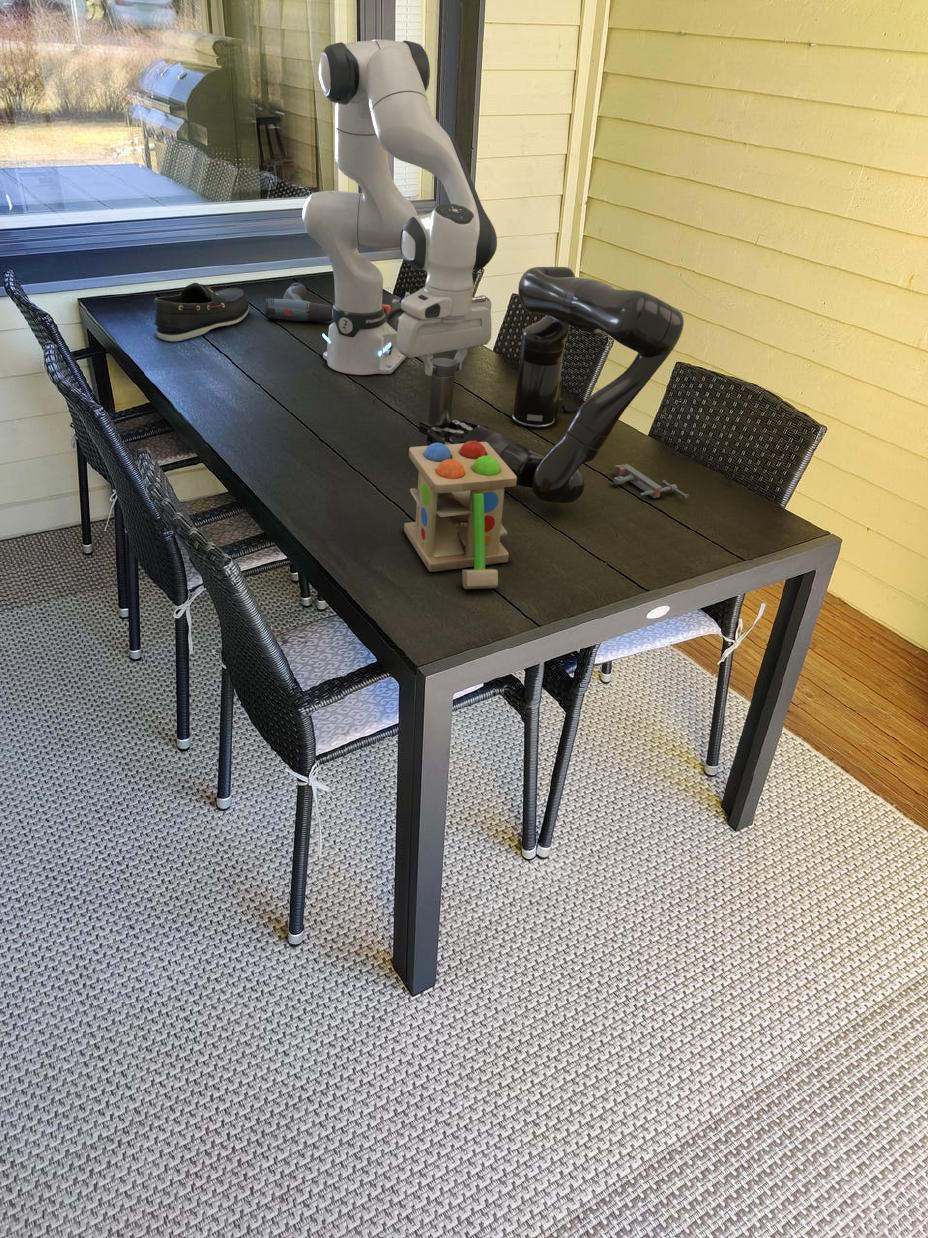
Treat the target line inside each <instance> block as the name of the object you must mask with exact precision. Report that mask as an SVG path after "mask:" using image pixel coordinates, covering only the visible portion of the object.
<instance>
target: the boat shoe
mask: <svg viewBox="0 0 928 1238" xmlns="http://www.w3.org/2000/svg"><path fill="white" fill-rule="evenodd" d="M154 305H155V315H154V317H155V321H154V322H153V323H154V325H155V326H156V337H157V338H158V339H160V340H162V341H166V342H180V341H181V342H182V341H186V340H189V339H192V338H196V337H199V336H201V335H204V334H206V333H208V332H209V331H210V330H212V329H215V328H219V327H224V326H226V327H227V326H230V325H234V324H238V323H239V322H241V321H243V320H244V319H245V318H246V317H247V315H248V314H249V311H250V304H249V300H248V297H247V295H246V293H245V291H244V290H243V289H241V288H238V287H230V288H224V289H220V290H217V291H215V290H214V289H213V288H212V287H211V286H209V285H207V284H203V283H198V282H191V283H190V284H188V285H186V286H185V287H184V288H183V289H182V290H181V291H180V292H179V294H177V295H171V296H159V297H155V298H154Z"/></svg>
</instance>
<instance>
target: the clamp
mask: <svg viewBox="0 0 928 1238" xmlns="http://www.w3.org/2000/svg"><path fill="white" fill-rule="evenodd" d="M613 476H615V477H613V481H612V482H613V484H615V485H617V486H619V485H624V484H625V483H626V482H630V483H631V484H633V485H634V486H636V487H637V488H638V489H640V491H642V492H640V493H639V496H640V497H642V496H650V497H651V498H653V499H656V498H660V497H661V493H665V492H671V493H672V492H675V493H677V494H679V495H680V496H681V497H683V498H684V500H688V499H689V494H688V493H687V494H686V493H684V492H683V491H681V490H679V489H678V486H677V484H675V483H673V484H670V483H669V482H668V481H667V480H666V479H662V481H661V485H665V486H666V487H663V486H661V485H660V484H658V483H656V482H655V481H654V480H652V479H651V478H649V477H648V476H646V475H645V474H643V473H642V472H640V471H639V470H638V469H636V468H635V467H634V466H631V465H630V464H629V463H624V464H615V467H614V472H613Z"/></svg>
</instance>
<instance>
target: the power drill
mask: <svg viewBox="0 0 928 1238" xmlns="http://www.w3.org/2000/svg"><path fill="white" fill-rule="evenodd" d="M307 295H308V290H307V287H306V285H304V284H303V283H301V282H293V283H292V284H291V285H290V286H289V287H288V288H287V289H286V291H285V292H284V294H283V297H282V298H266V299H265V302H264V313H265V314H264V316H265V318H267V319H274V320H275V319H276V320H283V321H294V322H295V321H297V322H332V321H333V314H332V311H333V305H331V304H324V303H317V302H313V301H307V300H305V299H306V297H307Z"/></svg>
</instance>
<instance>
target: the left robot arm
mask: <svg viewBox="0 0 928 1238" xmlns="http://www.w3.org/2000/svg"><path fill="white" fill-rule="evenodd" d="M318 79H319V83H320V86H321V89H322V93H323V94H324V96H325V97H326V98H327V99H328V100H329V102H332V103H335V108H334V160H335V163H336V166H337V168H338V170H340V172H341V173H342V174H343V175H344V176H346V177H347V178H349V179H350V180H351V181H353V182H355V183H356V184H357V185H358V186H359V187H360V188H361V190H362V192H353V191H341V190H323V191H317V192H312V193H311V194H309V196H308V197H307V198H306V200H305V202H304V204H303V207H302V211H301V220H302V224H303V227H304V229H305V232H306V233H307V234H308V236H309V237H310V238H311V239H312V240H314V241H315V242H316V243H317V244H318V245H319V246H320V247H321V249H322V250H323V252H324V253H325V255H326V256H327V257H328V260H329V263H330V266H331V268H332V274H333V282H334V283H333V284H334V285H333V286H334V303H333V305H332V307H333V311H332V314H333V320H332V323H331V324H330V325H329V326H328V336H326V335H325V333H322V334H321V335H322V337H323V339H324V340H325V341H326V342H327V346H326V347H327V348H326V351H324V352H323V353H322V358H323V359H324V360H326V362H327V363H326V365H327V366H328V367H329V368H330V369H332V370H334V371H336V372H339V373H341V374H342V373H343V374H347V375H356V376H369V375H379V374H380V375H389V374H392V373H393V372H394V371H395V370H396V369H397V368H398V367H399V366H400V365H401V364H402V363H403V361H405V360H406V359H407V358H408V359H411V358H417V357H420V358H421V360H422V363H423V364H424V374H425V375H426V376H428V377H432V375H436V369H437V367H436V366H434V365H433V364H432V360H433V359H434V354H440V353H445V352H446V353H447V352H451V351H456V353H455V355H454V357H453V359H452V360H454V361H455V362H456V372H458V371H461V370H462V367H463V365H462V364H463V362H464V360H465V358H466V356H467V355H468V353H469V349H470V348H475V347H481V346H485V345H486V346H487V345H488V344H489V342H490V341H491V339H492V314H491V311H492V301H491V299H490V298H489V297H487V296H486V295H483V294H482V295H478V296H473V294H474V280H473V271H481V270H482V269H484V268H485V267H486V266H487V265H488V264H489V263H490V262H491V261H492V259H493V258H494V256H495V254H496V252H497V248H498V238H497V237H498V236H497V233H496V229H495V227H494V224H493V222H492V220H491V219H490V218H489V216H488V214H487V213H486V211H485V210H484V207H483V205H482V203H481V200H480V197H479V195H478V192H477V190H476V187H475V185H474V183H473V180H472V178H471V175H470V173H469V170H468V167H467V165H466V163H465V159H464V158H463V155H462V153H461V150H460V148H459V146H458V144H457V142H456V140H455V138H453V136H452V135H451V134H449V133H448V132H447V131H446V130H445V129H444V128H443V127H442V126H441V125H440V123H439V122H438V120H437V119H436V117H435V115H434V114H433V111H432V109H431V107H430V104H429V100H428V95H427V91H428V89H429V85H430V80H431V68H430V60H429V56H428V53H427V52H426V50H425V48H424V47H423V46H422V44H420V43H417V42H415V41H411V40H402V41H398V40H391V39H372V40H362V41H361V40H360V41H359V40H358V41H352V42H347V43H344V42H343V41H339V42H335V43H332V44H329V45H326V46H325V47H324V49H323V50H322V52H321V54H320V57H319V65H318ZM388 155H390V156H392V157H393V158H394V159H397V160H399V161H401V162H404V163H407V164H410V165H414V166H416V167H418V168H421V169H423V170H425V171H426V172H429V173H431V174H432V175H433V176H435V177H436V178H437V179H438V180H439V182H440V183H441V184H442V186H443V188H444V190H445V193H446V195H447V199H448V200H449V203H442V204H441V203H440V204H438V205H436V206H435V207H434V208H433V209H432V211H431V212H430V213H426V214H420V215H418V213H417V209H416V207H415V206H414V205H413V203H412V202H411V201H410V200H409V199H407V197H405V196H404V195H403V193H402V192H401V191H400V189H399V188H398V187H397V185H396V184H395V182H394V179H393V176H392V175H391V170H390V167H389V156H388ZM358 247H368V248H369V247H371V248H379V249H380V248H381V249H396V248H399V250H400V255H401V257H402V259H403V260H404V261H405V263H406V264H407V265H408V266H410V268H412V269H415V270H420V271H425V272H426V278H425V284H424V286H423V287H422V288H420V289H419V290H417V291H414V292H413V293H410V296H408V297H406V298H404V297H403V298H404V299H403V300H402V301H401V303H400V307H398V308H394V309H393V310H391V308H392V306H391V305H390V304H385V303H383V292H384V290H383V288H384V277H383V276H384V275H383V274H382V272H381V270H380V268H379V267H378V266H377V265H375V264H374V263H373V262H371V261H370V260H367V259H366V258H364V257H363V256H362V254H360V252H359V250H358ZM403 311H404V312H403ZM400 312H403V313H402V314H401V315H400V316H401V317H400V316H399V317H400V319H399V320H398V324H397V330H396V329H394V328H393V327H392V325H391V324H390V322H389V319H390V318H391V317H392V316H393V315H394V314H397V313H400Z"/></svg>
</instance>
